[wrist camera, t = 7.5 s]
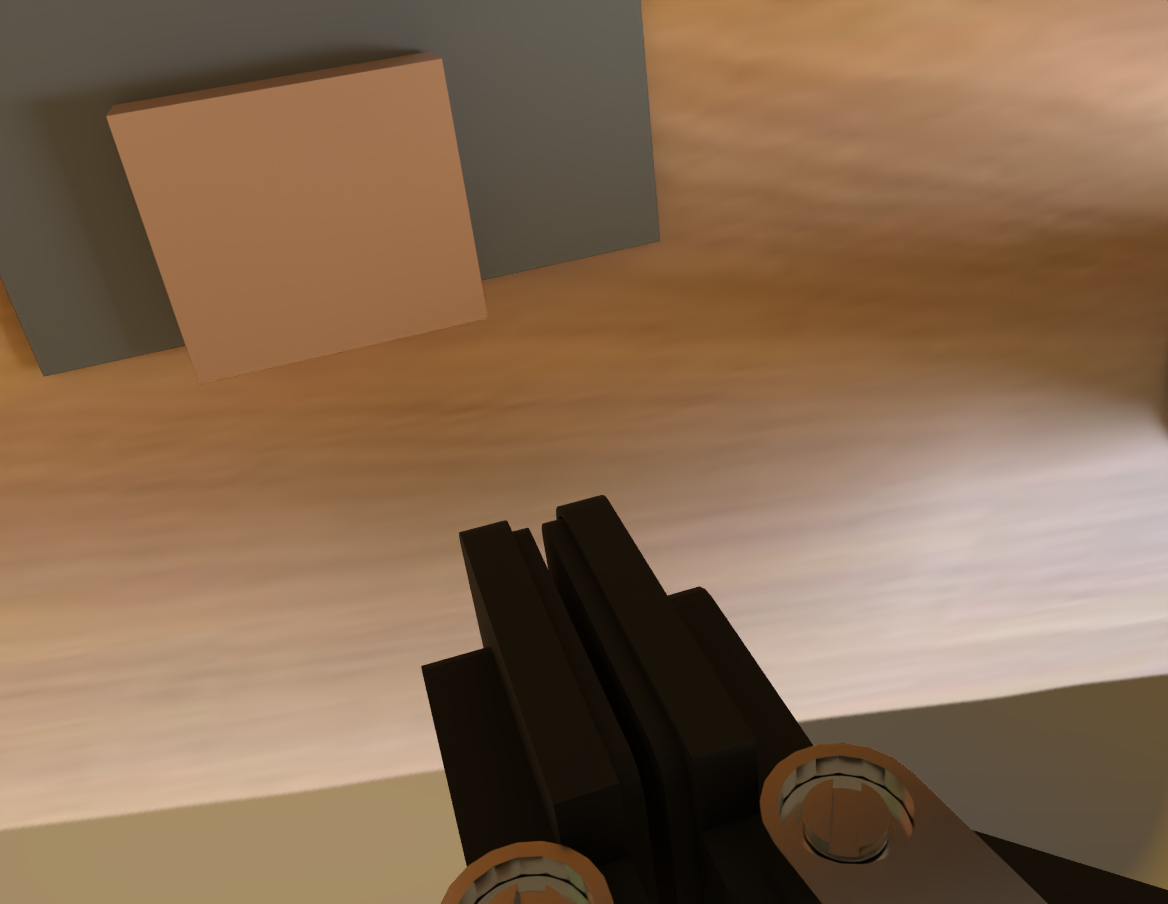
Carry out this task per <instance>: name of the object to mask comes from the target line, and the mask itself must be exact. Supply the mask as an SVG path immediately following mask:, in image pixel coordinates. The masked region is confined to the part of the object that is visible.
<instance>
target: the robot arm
mask: <svg viewBox="0 0 1168 904" xmlns="http://www.w3.org/2000/svg"><path fill="white" fill-rule="evenodd" d="M556 518H557V520H555V521H551V522H548V523H544V524H542V534H543V541H544V547H545V553H546V558H547V564H548V569H547V566H546V564H545V562H544V560H543V558H542V556H541V553H540V551H539V549H538V547H537V545H536V542H535V540H534V538H533V536H532V534H531V532H530V530H529V528H525V529H521V530H517V531H514V532H512V530H511V528H510V526H509V524H508V522H507V521H506V520H505V521H501V522H497V523H493V524H489V525H486V526H482V527H478V528H474V529H470V530H467V531H463V532H459V537H460V543H461V548H462V552H463V557H464V561H465V566H466V570H467V575H468V579H469V584H470V589H471V593H472V598H473V602H474V607H475V611H476V616H477V620H478V625H479V629H480V634H481V638H482V643H483V649H479V650H476V651H472V652H469V653H465V654H462V655H458V656H455V657H451V658H448V659H444V660H441V661H437V662H434V663H430V664H427V665H423V666H421V668H422V673H423V677H424V682H425V686H426V690H427V695H428V699H429V704H430V708H431V712H432V717H433V721H434V725H435V730H436V734H437V738H438V743H439V747H440V751H441V756H442V760H443V765H444V769H445V773H446V777H447V781H448V786H449V790H450V795H451V799H452V804H453V808H454V812H455V817H456V821H457V826H458V830H459V834H460V839H461V843H462V847H463V852H464V856H465V860H466V865H467V868H466V869H465V870H464V871H463V872H462V873H461V874H460V875H459V876H458V877H457V878H456V880H455V881H454V882H453V883H452V884H451V885H450V887H449V888H448V890H447V892H446V894H445V896H444V898H443V900H442V902H441V904H1168V890H1166V889H1162V888H1159V887H1156V886H1153V885H1149V884H1146V883H1143V882H1140V881H1136V880H1133V879H1130V878H1126V877H1123V876H1120V875H1117V874H1114V873H1110V872H1107V871H1103V870H1101V869H1097V868H1094V867H1091V866H1087V865H1084V864H1081V863H1078V862H1075V861H1071V860H1068V859H1065V858H1062V857H1058V856H1055V855H1052V854H1049V853H1045V852H1042V851H1039V850H1035V849H1032V848H1029V847H1026V846H1023V845H1019V844H1016V843H1013V842H1009V841H1006V840H1003V839H999V838H997V837H993V836H990V835H987V834H983V833H980V832H977V831H974V830H972V829H971V828H970V827H969V826H967V824H966V823H965V822H963V820H961V819H960V818H959V817H958V816H957V815H956V814H955V813H954V812H953V811H952V810H951V809H950V808H949V807H948V806H947V805H946V804H945V803H944V802H943V801H942V800H941V799H940V798H939V797H938V796H937V795H936V794H935V793H934V792H933V791H932V790H931V789H930V788H929V787H928V786H926V784H924V783H923V782H922V781H921V780H920V779H919V778H918V777H917V776H916V775H915V774H914V773H913V772H912V771H910V770H909V769H908V768H906V767H905V766H904V765H902V764H901V763H900V762H898V761H897V760H896V759H894V758H893V757H891V756H888V755H886V754H884V753H881V752H879V751H876V750H874V749H872V748H869V747H864V746H858V745H853V744H846V743H834V744H818V745H815V746H813V744H812V743H811V742H810V740H809V739H808V737H807V736H806V734H805V733H804V731H803V730H802V728H801V727H800V725H799V724H798V722H797V721H796V719H795V718H794V717H793V715H792V714H791V712H790V711H789V709H788V708H787V706H786V705H785V703H784V702H783V700H782V699H781V697H780V696H779V695H778V693H777V692H776V690H775V689H774V687H773V686H772V684H771V683H770V681H769V680H768V678H767V677H766V676H765V674H764V673H763V671H762V670H761V668H760V667H759V665H758V664H757V662H756V661H755V659H754V658H753V656H752V655H751V654H750V652H749V651H748V649H747V648H746V646H745V645H744V643H743V642H742V640H741V639H740V637H739V636H738V634H737V633H736V632H735V630H734V629H733V627H732V626H731V624H730V623H729V621H728V620H727V618H726V617H725V615H724V614H723V613H722V611H721V610H720V608H719V607H718V605H717V604H716V602H715V601H714V599H713V598H712V597H711V595H710V594H709V593H708V592H707V591H706V590H705V589H704V588H702V587H696V588H692V589H689V590H685V591H682V592H678V593H675V594H671V595H668V596H667V594H666V593H665V591H664V589H663V588H662V586H661V585H660V583H659V581H658V580H657V578H656V577H655V575H654V573H653V572H652V570H651V568H650V567H649V565H648V564H647V562H646V560H645V559H644V557H643V555H642V554H641V552H640V551H639V549H638V547H637V546H636V544H635V543H634V541H633V539H632V538H631V536H630V534H629V533H628V531H627V530H626V528H625V526H624V525H623V523H622V521H621V520H620V518H619V517H618V515H617V513H616V512H615V510H614V509H613V507H612V505H611V504H610V502H609V500H608V499H607V498H606V497H605V496H604V495H600V496H596V497H592V498H589V499H585V500H581V501H577V502H573V503H570V504H566V505H562V506H558V507H557V509H556ZM548 570H549V571H548Z"/></svg>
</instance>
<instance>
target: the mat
mask: <svg viewBox="0 0 1168 904" xmlns="http://www.w3.org/2000/svg"><path fill="white" fill-rule="evenodd" d="M429 51H431V52H433V53H434V54H436V55H437V56H439V57H440V58H442V62H443V68H444V73H445V79H446V85H447V90H448V96H449V101H450V107H451V113H452V118H453V124H454V130H455V135H456V141H457V146H458V152H459V158H460V163H461V169H462V174H463V180H464V186H465V191H466V197H467V203H468V208H469V214H470V219H471V225H472V231H473V236H474V242H475V248H476V253H477V259H478V264H479V270H480V276H481V280H485V279H490V278H495V277H499V276H504V275H508V274H513V273H517V272H522V271H526V270H531V269H535V268H540V267H545V266H549V265H554V264H558V263H563V262H567V261H572V260H576V259H581V258H585V257H590V256H595V255H599V254H604V253H608V252H613V251H617V250H622V249H626V248H631V247H636V246H640V245H645V244H649V243H654V242H658V241H660V235H659V223H658V210H657V198H656V186H655V174H654V161H653V149H652V137H651V124H650V112H649V100H648V87H647V75H646V63H645V50H644V38H643V26H642V13H641V1H640V0H0V277H1V279H2V282H3V284H4V286H5V289H6V291H7V293H8V295H9V298H10V300H11V302H12V305H13V307H14V309H15V312H16V314H17V316H18V319H19V321H20V323H21V326H22V328H23V330H24V332H25V335H26V337H27V339H28V342H29V344H30V346H31V349H32V351H33V353H34V356H35V358H36V360H37V362H38V365H39V367H40V369H41V372H42V374H43V376H49V375H53V374H58V373H62V372H67V371H71V370H76V369H81V368H85V367H90V366H94V365H99V364H103V363H108V362H112V361H117V360H121V359H126V358H131V357H135V356H140V355H144V354H149V353H153V352H158V351H162V350H167V349H172V348H176V347H181V346H185V342H184V339H183V336H182V334H181V331H180V328H179V325H178V322H177V319H176V316H175V313H174V311H173V308H172V305H171V302H170V299H169V296H168V293H167V290H166V288H165V285H164V282H163V279H162V276H161V273H160V270H159V267H158V264H157V262H156V259H155V256H154V253H153V250H152V247H151V244H150V241H149V239H148V236H147V233H146V230H145V227H144V224H143V221H142V218H141V216H140V213H139V210H138V207H137V204H136V201H135V198H134V195H133V193H132V190H131V187H130V184H129V181H128V178H127V175H126V172H125V169H124V167H123V164H122V161H121V158H120V155H119V152H118V149H117V146H116V144H115V141H114V138H113V135H112V132H111V129H110V126H109V123H108V121H107V118H106V115H107V114H108V112H109V111H110V109H111V107H112V106H113V105H117V104H123V103H129V102H135V101H141V100H147V99H152V98H158V97H164V96H170V95H176V94H182V93H188V92H194V91H200V90H205V89H211V88H217V87H223V86H229V85H235V84H241V83H247V82H253V81H259V80H264V79H270V78H276V77H282V76H288V75H294V74H300V73H306V72H312V71H317V70H323V69H329V68H335V67H341V66H347V65H353V64H359V63H365V62H370V61H376V60H382V59H388V58H394V57H400V56H406V55H412V54H418V53H423V52H429Z"/></svg>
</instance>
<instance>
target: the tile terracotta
mask: <svg viewBox="0 0 1168 904" xmlns="http://www.w3.org/2000/svg"><path fill="white" fill-rule="evenodd" d="M106 118H107V121H108V123H109V126H110V129H111V132H112V135H113V138H114V141H115V144H116V146H117V149H118V152H119V155H120V158H121V161H122V164H123V167H124V169H125V172H126V175H127V178H128V181H129V184H130V187H131V190H132V193H133V195H134V198H135V201H136V204H137V207H138V210H139V213H140V216H141V218H142V221H143V224H144V227H145V230H146V233H147V236H148V239H149V241H150V244H151V247H152V250H153V253H154V256H155V259H156V262H157V264H158V267H159V270H160V273H161V276H162V279H163V282H164V285H165V288H166V290H167V293H168V296H169V299H170V302H171V305H172V308H173V311H174V313H175V316H176V319H177V322H178V325H179V328H180V331H181V334H182V336H183V339H184V342H185V345H186V348H187V351H188V354H189V357H190V360H191V362H192V365H193V368H194V371H195V374H196V377H197V380H198V383H199V384H204V383H208V382H212V381H217V380H221V379H226V378H230V377H234V376H239V375H243V374H247V373H252V372H256V371H261V370H265V369H269V368H274V367H278V366H283V365H287V364H291V363H296V362H300V361H304V360H309V359H313V358H318V357H322V356H326V355H331V354H335V353H340V352H344V351H348V350H353V349H357V348H361V347H366V346H370V345H375V344H379V343H383V342H388V341H392V340H396V339H401V338H405V337H410V336H414V335H418V334H423V333H427V332H432V331H436V330H440V329H445V328H449V327H453V326H458V325H462V324H467V323H471V322H475V321H480V320H484V319H488V315H487V309H486V304H485V298H484V293H483V287H482V281H481V276H480V270H479V264H478V259H477V253H476V248H475V242H474V236H473V231H472V225H471V219H470V214H469V208H468V203H467V197H466V191H465V186H464V180H463V174H462V169H461V163H460V158H459V152H458V146H457V141H456V135H455V130H454V124H453V118H452V113H451V107H450V101H449V96H448V90H447V85H446V79H445V73H444V68H443V62H442V58H440V57H439V56H437V55H436V54H434V53H433V52H431V51H429V52H423V53H418V54H412V55H406V56H400V57H394V58H388V59H382V60H376V61H370V62H365V63H359V64H353V65H347V66H341V67H335V68H329V69H323V70H317V71H312V72H306V73H300V74H294V75H288V76H282V77H276V78H270V79H264V80H259V81H253V82H247V83H241V84H235V85H229V86H223V87H217V88H211V89H205V90H200V91H194V92H188V93H182V94H176V95H170V96H164V97H158V98H152V99H147V100H141V101H135V102H129V103H123V104H117V105H113V106H112V107H111V109H110V111H109V112H108V114H107V115H106Z"/></svg>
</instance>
